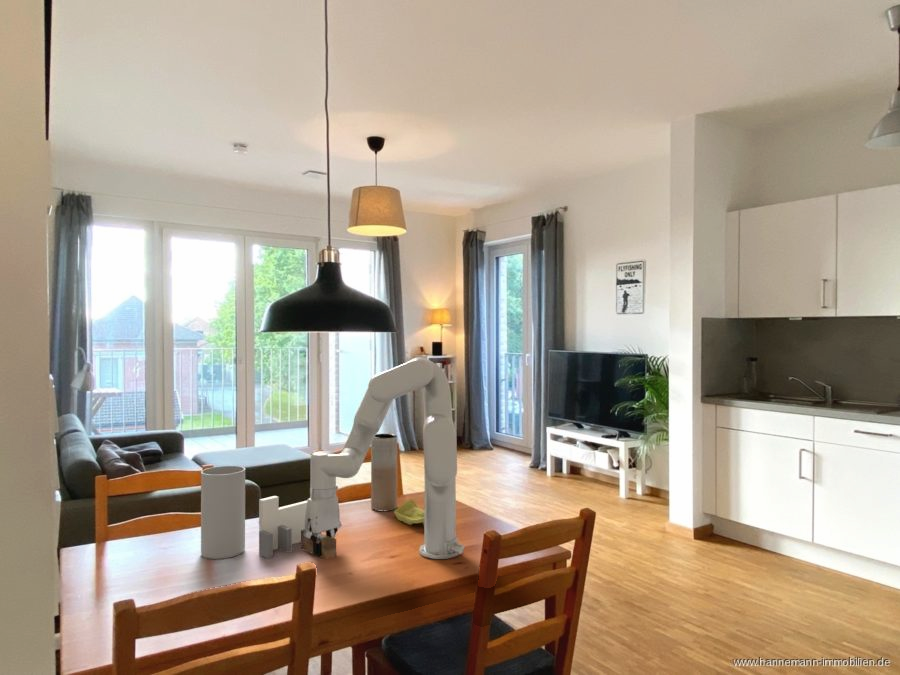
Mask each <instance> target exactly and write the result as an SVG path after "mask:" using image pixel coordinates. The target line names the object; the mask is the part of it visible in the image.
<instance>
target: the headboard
mask: <svg viewBox="0 0 900 675" xmlns="http://www.w3.org/2000/svg"><path fill="white" fill-rule="evenodd" d="M279 500H280V496H277V495H272V496H268V497H265V498H260V499H259V500H258V504H259V505H258V506H259V507H258V513H259V514H258V555H259V556H262V557H264V558H266V559H271V558H272V559H273V557H274V552H273V551H275V550H280V551H283V552H285V553H287V554H288V553H291V552H292V545H294V544H298V543H301V530H303V529H305V513H306V506H307V501H308V499H307V500H304V501H299V502H296V503H292V504H288V505H283V506H279V502H280V501H279Z"/></svg>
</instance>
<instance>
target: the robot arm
mask: <svg viewBox="0 0 900 675" xmlns="http://www.w3.org/2000/svg"><path fill="white" fill-rule="evenodd" d="M367 387H368V388H367V389H366V391H365V394H364V396H363V397H362V400H361V402H360V404H359V407H358V408H357V411H356V413H355V415H354V419H353V425H352V428H351V430H350V433H349V435H348V438H347V440H346V442H345V443H344V446H343V448H342V450H341V452H340V453H337V454H335V452H333V451H332V450H331V451H330V450H319V451H315V452H313V453H312V454H310V481H309V482H310V485H309V486H310V488H309V498H307V500H308V501H307V500H306V501H307V506H306V513H305V532H304V534H303V536H304V537H307V538H309V539H310V540H311V541H312V542H313V553H312V554H313V555H314V556H316V555H317V556H316V557H318V558H319V557H321V543H320V537H321V534H322V533H324V532H325V535H326V536H329V537H332V538H335V537H336V536H335V535H336V534H337V533H338V531H339V530H340V529H341V527H342V526H343V525H342V522H341V520H340V519H341V518H340V514H341V513H340V504H339V498H338V495H337V491H338V490H339V486H338V485H336V484H337V483H336V482H337V478H342V479H349V478H353V477H355V476H356V475H358V473H359V471H360V469H361V467H362V466H363V464H364V461H365V458H366V456H367V455H368V454H367V453H368V451H369V450H370V449H371V443H372V441H373V439H374V437H375V435H376V434H378V433H379V431H380V429H381V427H382V426H383V423H384V420H385V418H386V416H387V414H388V411H389V409H390V407H391V405H392V403H393V401H394V400H395V399H398V398H400V397H402V396H405V395H408V394H409V393H412V392H415V391H417V390H420V389H421V390H422V395H423V396H422V397H423V410H424V412H423V415H424V416H423V418H424V420H423V428H422V435H423V436H422V439H423V460H424V461H423V462H424V463H423V467H424V468H423V471H424V472H423V473H424V474H423V475H424V501H423V502H424V509H423V510H424V525H423V527H424V529H423V530H424V533H423V534H424V536H423V537H424V540H423V542H424V543H423V544H421V545H420V546H419V551H418V552H419V554H420V555H421V556H422V557H425V558H429V559H432V560H434V559H435V560H447V559H451V558H454V557H457V556H459V555H462V554H463V551H464V549H465V545H464V544H460V543H459V537H456V534H457V533H456V531H457V530H456V527H457V526H456V523H457V522H456V519H457V518H456V514H457V513H456V500H457V499H456V498H457V495H456V494H457V491H456V487H457V486H456V484H457V481H456V478H457V474H458V454H457V451H458V449H457V431H456V426H455V424H454V421H453V420H454V419H453V407H452V406H453V405H452V392H451V386H450V383H449V380H448V377H447V375H446V373H445V372H444V370H443V369H442V368H441V367H440V366H439V365H437V363H435V362H433V361H432V360H430V359H427V358H425V357H421V356H420V357H419V356H417V357H414V358H412V359H410V360H408V361H407V362H405V363H403V364H400V365H398V366H395V367H393V368H390V369H388V370H385V371H381V372H378V373H376V374H374V375H373V376H372V377H371V379H370V380H369V381H368V385H367ZM311 531H312V535H311V534H310V533H311ZM335 539H336V538H335Z"/></svg>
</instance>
